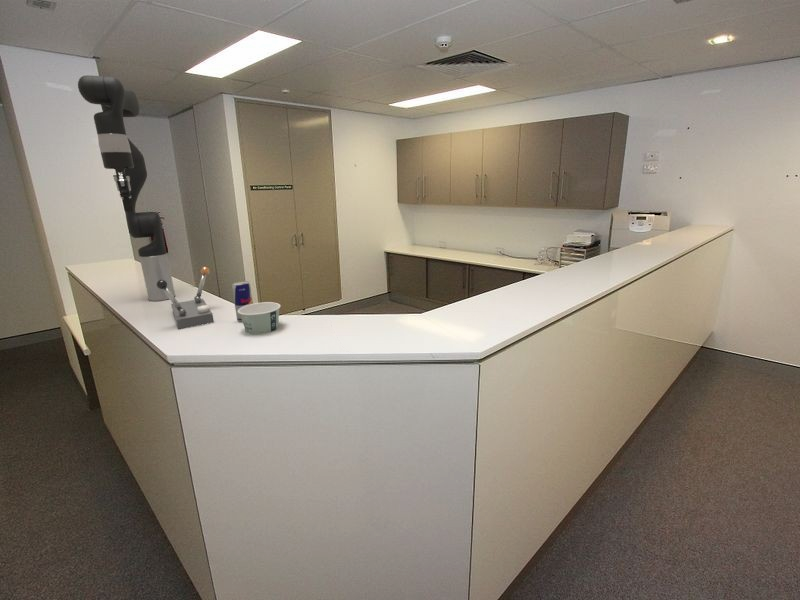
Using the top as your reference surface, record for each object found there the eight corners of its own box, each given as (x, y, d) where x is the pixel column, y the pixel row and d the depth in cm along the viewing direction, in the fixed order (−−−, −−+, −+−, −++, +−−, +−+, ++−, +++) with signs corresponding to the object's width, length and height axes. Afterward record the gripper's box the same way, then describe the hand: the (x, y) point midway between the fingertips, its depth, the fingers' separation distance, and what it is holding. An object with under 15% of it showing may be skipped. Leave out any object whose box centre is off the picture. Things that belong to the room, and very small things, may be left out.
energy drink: (249, 322, 127) (243, 285, 124) (233, 322, 128) (227, 285, 125) (258, 317, 132) (253, 281, 129) (243, 316, 133) (237, 281, 130)
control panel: (172, 312, 142) (171, 303, 141) (204, 306, 147) (202, 298, 146) (178, 329, 124) (176, 319, 123) (213, 322, 129) (212, 313, 128)
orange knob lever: (192, 300, 141) (201, 265, 140) (200, 302, 143) (209, 267, 142) (193, 302, 139) (202, 266, 138) (202, 303, 140) (211, 268, 140)
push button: (197, 311, 130) (196, 306, 130) (208, 309, 132) (207, 304, 132) (198, 313, 128) (197, 308, 127) (209, 311, 129) (209, 306, 129)
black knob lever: (179, 315, 128) (154, 282, 122) (187, 311, 129) (163, 277, 123) (180, 318, 125) (154, 283, 120) (188, 313, 126) (163, 278, 121)
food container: (232, 332, 120) (228, 310, 118) (264, 320, 129) (261, 300, 128) (259, 338, 113) (256, 316, 112) (291, 325, 123) (289, 304, 121)
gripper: (130, 149, 117) (143, 211, 122) (131, 153, 128) (143, 209, 132) (98, 149, 113) (113, 213, 118) (102, 153, 124) (115, 211, 129)
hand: (129, 211), depth 125 cm, fingers closed
